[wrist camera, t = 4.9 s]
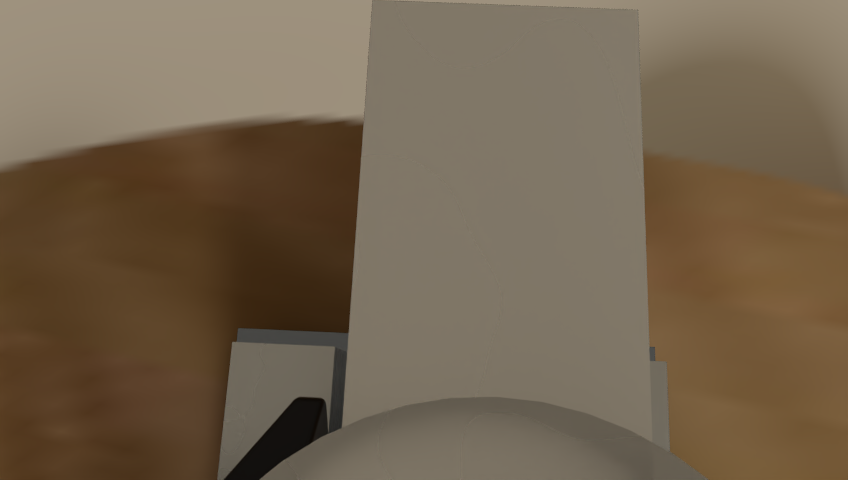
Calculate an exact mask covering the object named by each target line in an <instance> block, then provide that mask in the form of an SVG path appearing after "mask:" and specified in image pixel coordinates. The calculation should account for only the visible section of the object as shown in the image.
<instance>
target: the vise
mask: <svg viewBox="0 0 848 480" xmlns="http://www.w3.org/2000/svg"><path fill="white" fill-rule="evenodd" d="M348 336H349V333H333V332H311V331H289V330H267V329H245V328H238V334H237V342H232V350H231V359H230V368H229V378H228V387H227V396H226V405H225V414H224V423H223V432H222V441H221V450H220V460H219V469H218V478H217V480H224V478H225V477H226V476H227V475H228V474H229V473H230V472H231V471H232V469H233V468H234V467H235V466H236V465H237V464H238V463H239V461H240V460H241V459H242V458H243V457H244V456H245V455H246V454H247V452H248V451H249V450H250V449H251V448H252V447H253V446H254V444H255V443H256V442H257V441H258V440H259V439H260V438H261V437H262V435H263V434H264V433H265V432H266V431H267V430H268V429H269V427H270V426H271V425H272V424H273V423H274V422H275V421H276V419H277V418H278V417H279V416H280V415H281V414H282V413H283V412H284V410H285V409H286V408H287V407H288V406H289V405H290V404H291V402H292V401H293V400H294V399H296V398H298V397H318V398H323V399H324V400H325V402H326V407H327V421H328V434H329V433H331V432H334V431H336V430H338V429H340V428H342V420H343V406H344V392H345V378H346V364H347V350H348ZM649 352H650V382H651V412H652V442H653V443H654V444H656V445H658V446H660V447H661V448H663V449H665V450H667V451H669V452H670V440H669V413H668V385H667V362H661V361H655V347H649Z"/></svg>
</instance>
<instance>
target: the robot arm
mask: <svg viewBox="0 0 848 480" xmlns="http://www.w3.org/2000/svg"><path fill="white" fill-rule="evenodd" d="M327 434H328V421H327V407H326V402H325V400H324V399H323V398H318V397H298V398H296V399H294V400H293V401H292V402H291V404H290V405H289V406H288V407H287V408H286V409H285V410H284V412H283V413H282V414H281V415H280V416H279V417H278V418H277V419H276V421H275V422H274V423H273V424H272V425H271V426H270V427H269V429H268V430H267V431H266V432H265V433H264V434H263V435H262V437H261V438H260V439H259V440H258V441H257V442H256V443H255V444H254V446H253V447H252V448H251V449H250V450H249V451H248V452H247V454H246V455H245V456H244V457H243V458H242V459H241V460H240V461H239V463H238V464H237V465H236V466H235V467H234V468H233V469H232V471H231V472H230V473H229V474H228V475H227V476H226V477H225V478H224V480H260V479H261V478H262V477H263V476H264V475H266V474H267V473H268V472H269V471H271V470H272V469H273V468H274V467H276V466H277V465H278V464H279V463H281V462H282V461H283V460H285V459H287V458H288V457H290V456H292V455H293V454H295V453H296V452H298V451H300V450H301V449H303V448H305V447H306V446H308V445H309V444H311V443H313V442H314V441H316V440H317V439H319V438H321V437H322V436H325V435H327Z"/></svg>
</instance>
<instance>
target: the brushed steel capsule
mask: <svg viewBox="0 0 848 480" xmlns="http://www.w3.org/2000/svg"><path fill="white" fill-rule="evenodd" d="M642 143H643V142H642V112H641V83H640V52H639V22H638V10H626V9H600V8H574V7H546V6H520V5H492V4H466V3H439V2H412V1H411V2H410V1H383V0H373V1H372V14H371V28H370V42H369V56H368V70H367V84H366V99H365V112H364V126H363V140H362V154H361V168H360V182H359V196H358V210H357V224H356V238H355V252H354V266H353V280H352V294H351V308H350V322H349V336H348V350H347V364H346V378H345V392H344V406H343V420H342V428H340V429H338V430H336V431H334V432H331V433H329V434H327V435H325V436H322V437H321V438H319V439H317V440H316V441H314V442H313V443H311V444H309V445H308V446H306V447H305V448H303V449H301V450H300V451H298V452H296V453H295V454H293V455H292V456H290V457H288V458H287V459H285V460H283V461H282V462H281V463H279V464H278V465H277V466H276V467H274V468H273V469H272V470H271V471H269V472H268V473H267V474H266V475H264V476H263V477H262V478H261V479H260V480H708V479H707V478H706V477H704V476H703V475H701V474H700V473H699V472H697V471H696V470H695V469H693V468H692V467H690V466H689V465H688V464H686V463H685V462H683V461H682V460H681V459H679V458H678V457H677V456H675V455H674V454H672V453H671V452H669V451H667V450H665V449H663V448H661V447H660V446H658V445H656V444H654V443H653V442H652V412H651V382H650V352H649V322H648V292H647V262H646V232H645V202H644V172H643V144H642Z"/></svg>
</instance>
